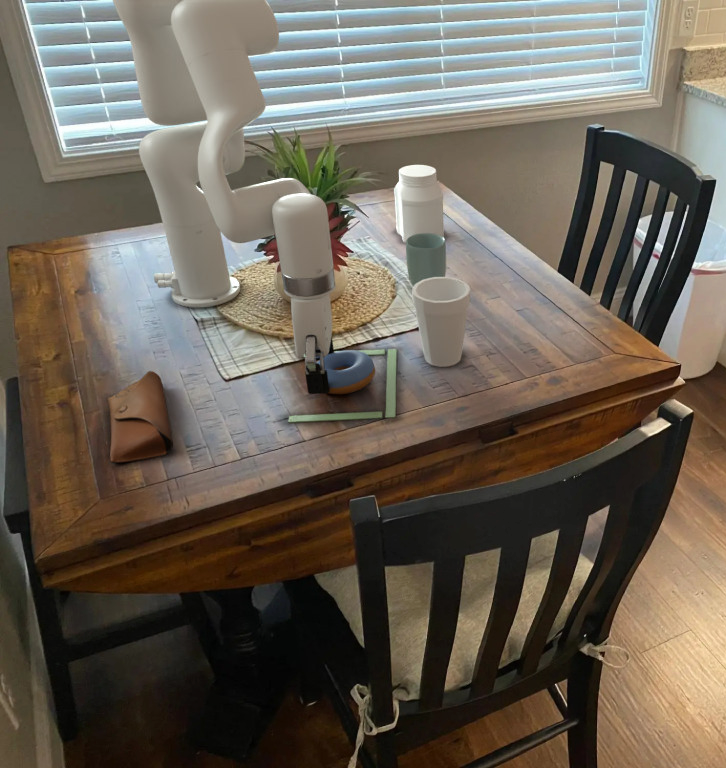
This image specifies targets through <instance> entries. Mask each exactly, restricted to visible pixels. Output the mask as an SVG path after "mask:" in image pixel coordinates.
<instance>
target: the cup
mask: <svg viewBox="0 0 726 768" xmlns="http://www.w3.org/2000/svg"><path fill="white" fill-rule="evenodd" d="M405 256H406V257H405V258H406V259H405V260H406V269H407V274H408V276H407V277H408V279H409V281H410V284H411V285H412V286H413V287H414V285H415V284H416V283H418V282H420V281H421V280H424V279H428V278H432V277H446V273H447V243H446V239H445V236H444V237H442V236H440V235H437V234H431V233H421V234H415V235H412V236H410V237H409V238H408V239H407V240H406V243H405ZM413 287H412V288H413Z"/></svg>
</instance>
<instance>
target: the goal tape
mask: <svg viewBox="0 0 726 768" xmlns="http://www.w3.org/2000/svg"><path fill="white" fill-rule="evenodd" d="M338 351H339V350H334V352H338ZM356 351H361V352H363V353H365V354H367V355H368V356H385V355H386V349H361V350H360V349H359V350H356ZM397 351H398V350H397V348H388V349H387V359H386V360H387V361H386V362H387V363H386V387H385V391H386V392H385V419H393V418H394V419H395V418H396V407H397V406H396V402H397ZM301 358H302V359H305V354H304V357H301ZM374 419H383V411H366V412H365V411H364V412H363V411H362V412H346V413H324V414H321V413H320V414H303V415H299V414H298V415H288V421H287V423H288V424H291V423H314V422H333V421H353V420H374Z"/></svg>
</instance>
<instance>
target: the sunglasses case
mask: <svg viewBox="0 0 726 768" xmlns="http://www.w3.org/2000/svg"><path fill="white" fill-rule="evenodd" d="M107 403H108V409H109V415H110V416H109V418H110V438H111V439H110V450H109V451H110V452H109V453H110V454H109V458H110V462H111V463H114V464H120V463H122V464H123V463H130V462H136V461H142V460H143V461H144V460H147V459H152V458H157V457H161V456H166V455H167V454H168V453H170V452H171V450H172V449H173V447H174V441H173V436H172V429H171V428H172V427H171V422H170V417H169V413H168V407H167V402H166V396H165V389H164V384H163V381H162V378H161V377H160V375H159V374H158V373H157V372H155V371H153V370H149V371H147V372H146V373H145V374H144V375H143V376H142V377H141V378H140V379H138V380H136V381H134V382H133V383H131V384H130V385H128V386H127V387H125V388H124V389H122V390H120V391H118V392H117V393H115V394H113V395H112V396H110V397H108V398H107Z"/></svg>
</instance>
